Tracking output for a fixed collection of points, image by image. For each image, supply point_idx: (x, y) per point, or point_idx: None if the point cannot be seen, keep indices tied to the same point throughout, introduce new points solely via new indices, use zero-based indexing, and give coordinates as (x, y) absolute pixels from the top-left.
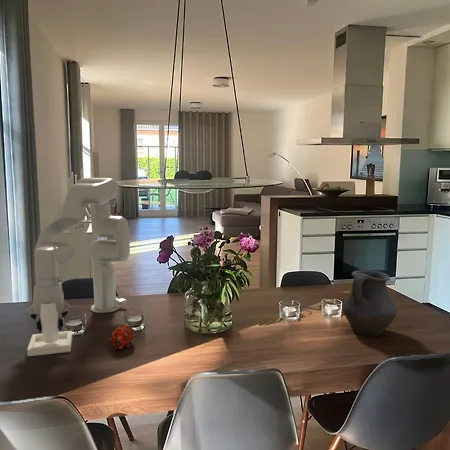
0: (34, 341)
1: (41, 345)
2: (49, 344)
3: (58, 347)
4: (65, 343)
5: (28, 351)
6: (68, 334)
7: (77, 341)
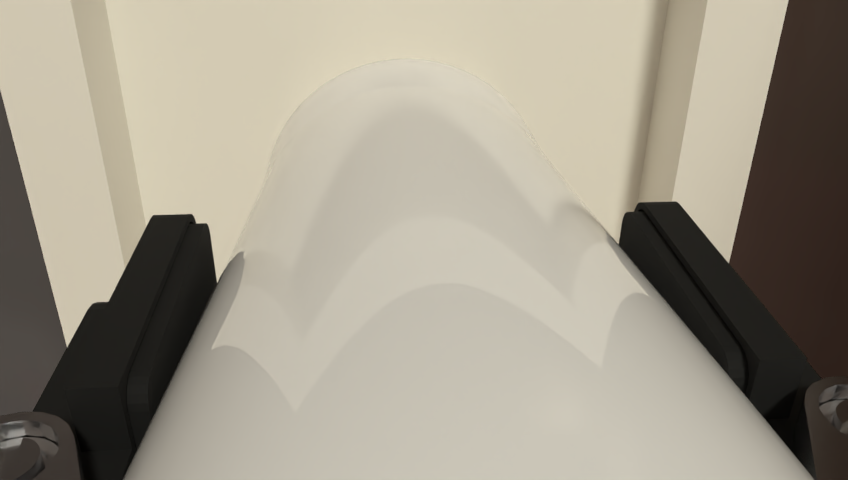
0: (113, 198)
1: (245, 169)
2: None
3: None
4: (618, 179)
5: None
6: (726, 20)
7: (803, 68)
